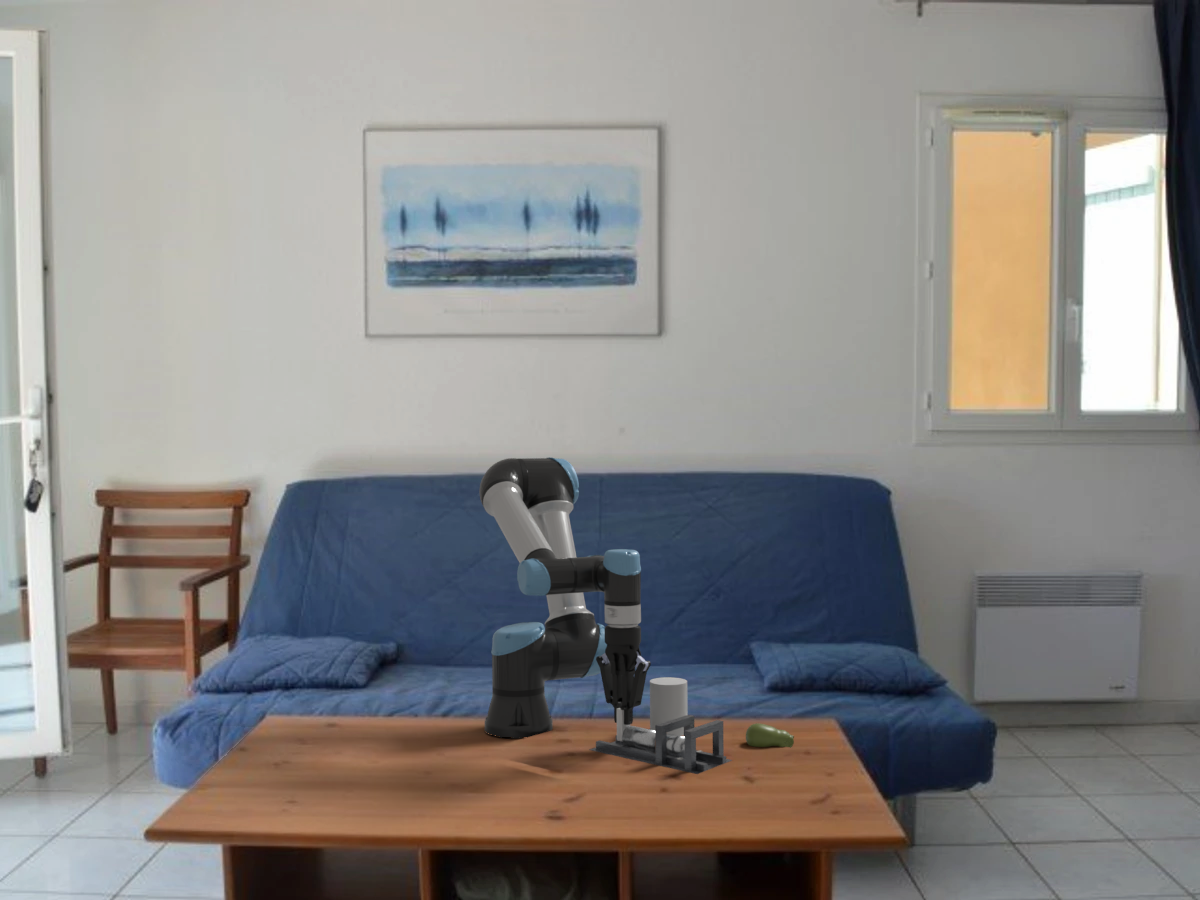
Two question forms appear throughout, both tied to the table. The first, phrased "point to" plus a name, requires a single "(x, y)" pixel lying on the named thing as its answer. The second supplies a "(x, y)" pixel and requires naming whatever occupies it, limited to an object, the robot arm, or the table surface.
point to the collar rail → (693, 758)
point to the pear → (768, 736)
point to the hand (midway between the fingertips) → (623, 739)
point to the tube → (652, 741)
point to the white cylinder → (667, 701)
